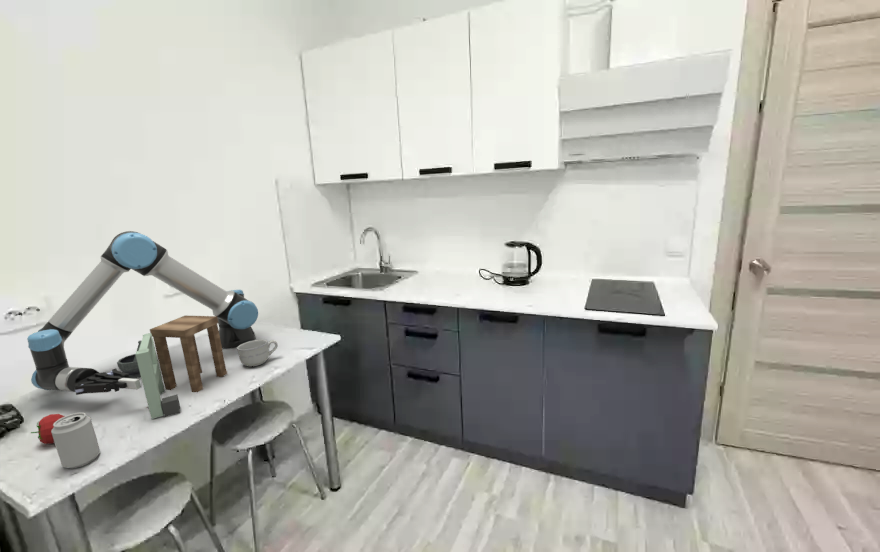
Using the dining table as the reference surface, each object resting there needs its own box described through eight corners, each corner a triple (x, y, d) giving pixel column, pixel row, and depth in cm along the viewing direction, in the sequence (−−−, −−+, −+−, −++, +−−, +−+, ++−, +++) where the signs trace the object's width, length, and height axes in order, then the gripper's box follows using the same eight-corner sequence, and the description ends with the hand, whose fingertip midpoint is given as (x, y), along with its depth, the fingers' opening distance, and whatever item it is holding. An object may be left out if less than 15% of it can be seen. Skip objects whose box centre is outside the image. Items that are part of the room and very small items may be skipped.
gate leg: (155, 392, 138) (141, 334, 133) (166, 389, 139) (152, 332, 135) (151, 419, 121) (135, 354, 117) (163, 415, 123) (148, 351, 118)
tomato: (68, 405, 116) (30, 413, 110) (72, 429, 112) (33, 438, 106) (65, 421, 119) (28, 429, 113) (69, 444, 116) (31, 454, 110)
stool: (196, 371, 153) (184, 315, 148) (228, 373, 149) (217, 316, 144) (163, 390, 140) (149, 329, 135) (197, 393, 136) (184, 330, 131)
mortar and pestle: (136, 381, 147) (128, 350, 145) (114, 381, 149) (106, 350, 146) (162, 367, 158) (155, 338, 155) (141, 367, 160) (134, 338, 157)
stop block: (165, 411, 126) (162, 398, 125) (180, 407, 128) (177, 394, 127) (164, 417, 122) (161, 403, 121) (180, 412, 124) (177, 399, 123)
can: (103, 458, 105) (91, 416, 102) (65, 475, 99) (51, 431, 97) (97, 447, 110) (86, 407, 107) (60, 462, 104) (47, 420, 102)
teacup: (237, 371, 151) (234, 351, 149) (243, 360, 161) (239, 340, 159) (278, 365, 154) (274, 345, 152) (280, 354, 164) (277, 335, 162)
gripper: (102, 380, 137) (159, 385, 132) (59, 401, 125) (120, 406, 119) (96, 360, 135) (154, 363, 130) (52, 378, 123) (114, 383, 118)
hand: (137, 384), depth 125 cm, fingers closed
